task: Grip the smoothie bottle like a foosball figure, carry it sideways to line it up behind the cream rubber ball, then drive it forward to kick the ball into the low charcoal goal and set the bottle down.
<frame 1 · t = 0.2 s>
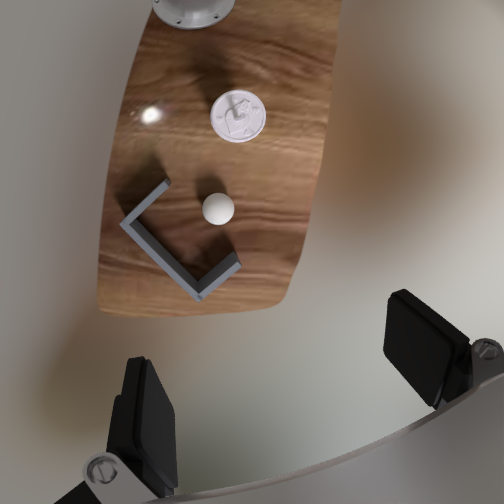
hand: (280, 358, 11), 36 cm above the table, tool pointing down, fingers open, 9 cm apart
goal: (180, 237, 45), on the table
ball: (218, 208, 43), point 2 cm above the table
smoothie: (228, 122, 41), on the table
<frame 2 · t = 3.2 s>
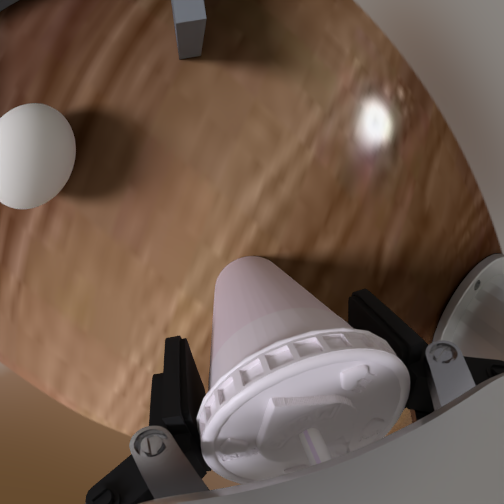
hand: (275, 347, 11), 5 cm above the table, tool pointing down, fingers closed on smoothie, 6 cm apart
goal: (38, 28, 9), on the table
ball: (27, 155, 10), point 2 cm above the table
smoothie: (249, 287, 16), on the table, touching gripper
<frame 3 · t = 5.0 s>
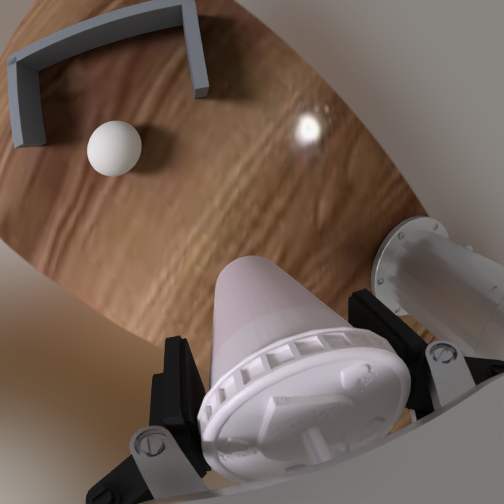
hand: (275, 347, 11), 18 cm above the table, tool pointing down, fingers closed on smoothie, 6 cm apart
goal: (108, 72, 21), on the table
ball: (114, 148, 21), point 2 cm above the table
smoothie: (249, 287, 16), point 12 cm above the table, touching gripper
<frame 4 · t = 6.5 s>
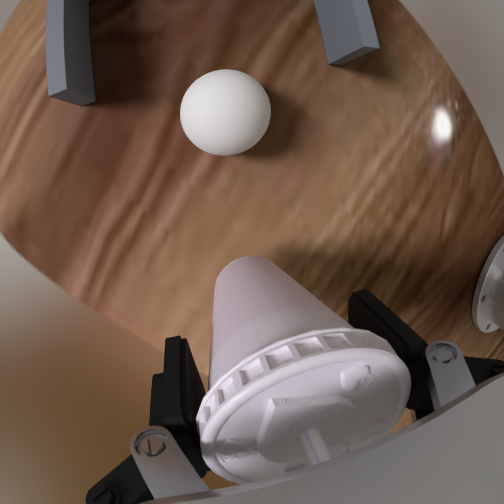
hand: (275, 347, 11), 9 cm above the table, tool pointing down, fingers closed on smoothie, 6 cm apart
goal: (204, 9, 14), on the table
ball: (225, 112, 14), point 2 cm above the table
smoothie: (249, 287, 16), point 3 cm above the table, touching gripper
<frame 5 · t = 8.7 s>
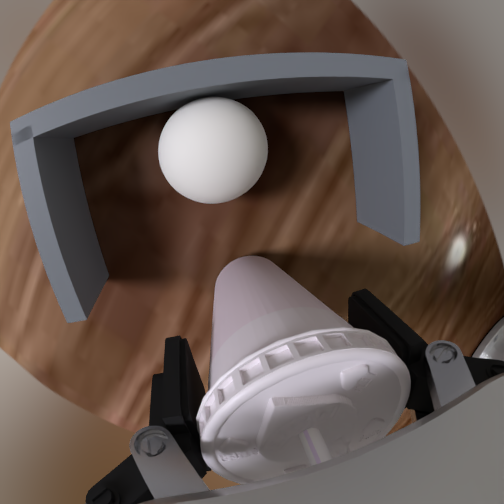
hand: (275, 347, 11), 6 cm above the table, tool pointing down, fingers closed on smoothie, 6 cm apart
goal: (221, 161, 14), on the table
ball: (212, 149, 12), point 2 cm above the table, tilted 162°
smoothie: (249, 287, 16), point 1 cm above the table, touching gripper
when the fingers open (6 cm above the table, at t = 10.1 s): smoothie stays where it is, on the table.
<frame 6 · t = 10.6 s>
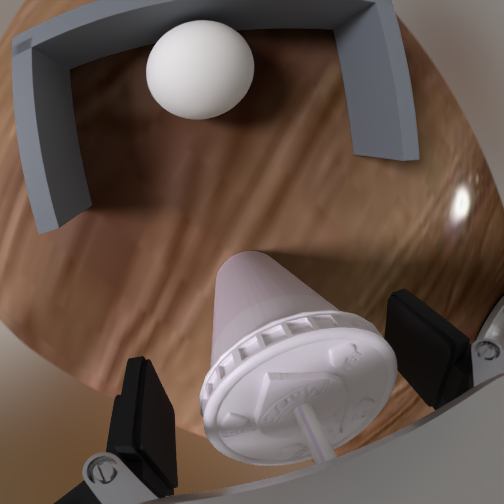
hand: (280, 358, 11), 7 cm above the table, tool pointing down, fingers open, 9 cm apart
goal: (212, 86, 13), on the table
ball: (199, 69, 11), point 2 cm above the table, tilted 168°
smoothie: (248, 280, 17), on the table
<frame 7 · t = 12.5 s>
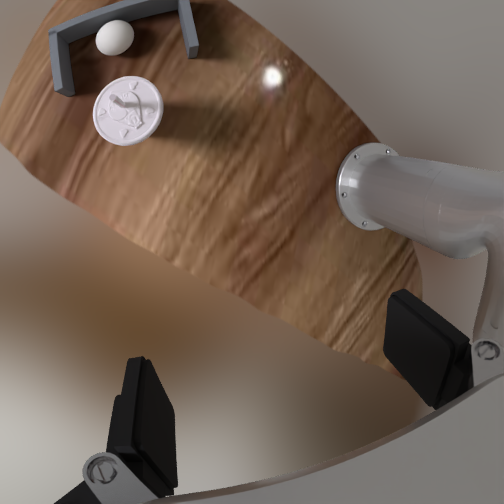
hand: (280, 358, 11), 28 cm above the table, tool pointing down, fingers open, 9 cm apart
goal: (124, 43, 27), on the table
ball: (114, 37, 25), point 2 cm above the table, tilted 171°
smoothie: (140, 120, 31), on the table
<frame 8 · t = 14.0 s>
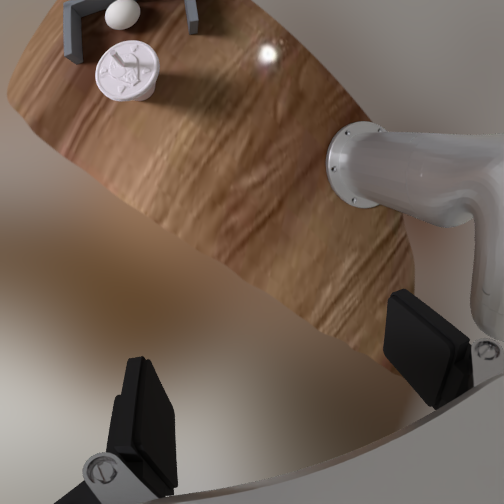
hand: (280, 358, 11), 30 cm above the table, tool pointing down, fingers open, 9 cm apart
goal: (131, 18, 28), on the table
ball: (122, 14, 26), point 2 cm above the table, tilted 170°
smoothie: (141, 87, 32), on the table
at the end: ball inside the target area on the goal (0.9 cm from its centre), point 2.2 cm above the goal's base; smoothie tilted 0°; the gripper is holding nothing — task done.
